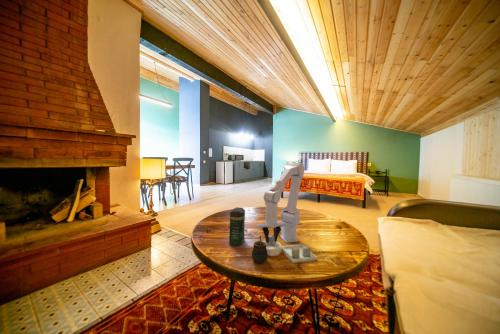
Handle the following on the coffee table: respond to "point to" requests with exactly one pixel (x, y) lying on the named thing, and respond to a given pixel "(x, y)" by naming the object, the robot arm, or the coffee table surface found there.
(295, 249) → the pebble
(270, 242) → the grey rounded cylinder
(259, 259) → the mate gourd
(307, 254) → the pebble
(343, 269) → the coffee table surface
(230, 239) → the coffee jar
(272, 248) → the bowl
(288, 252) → the tray
